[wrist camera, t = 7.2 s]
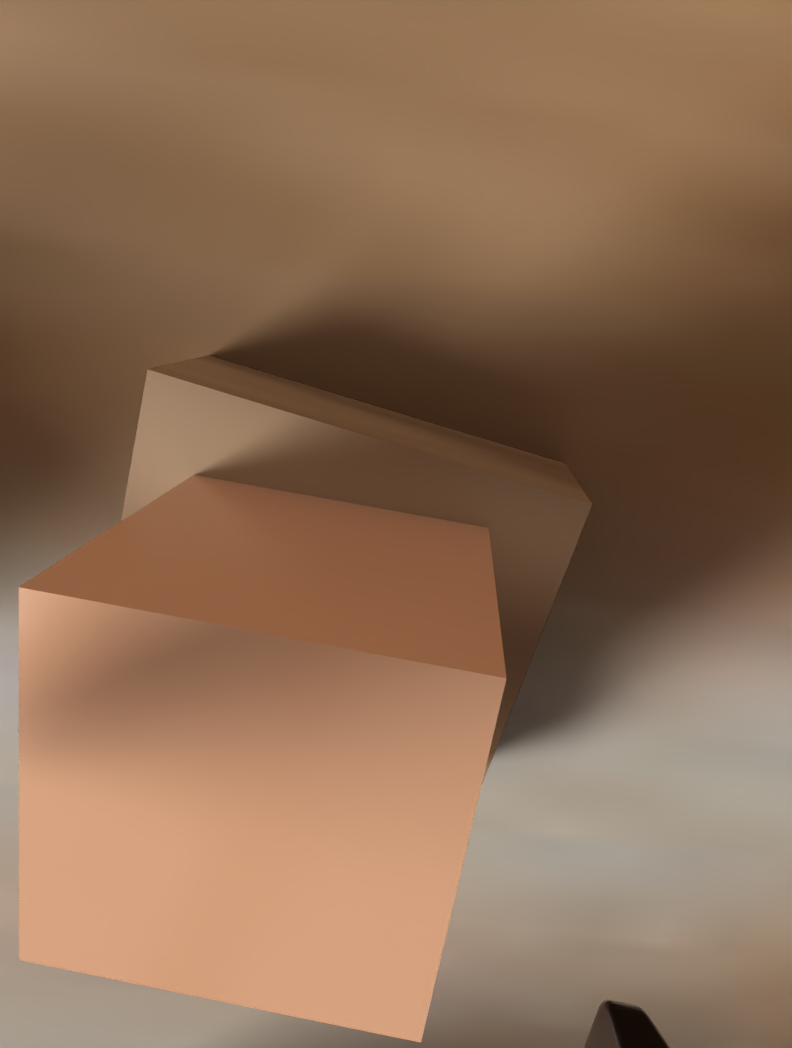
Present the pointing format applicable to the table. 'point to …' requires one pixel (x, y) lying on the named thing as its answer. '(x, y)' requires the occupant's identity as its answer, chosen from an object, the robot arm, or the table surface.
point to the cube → (257, 750)
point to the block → (367, 476)
